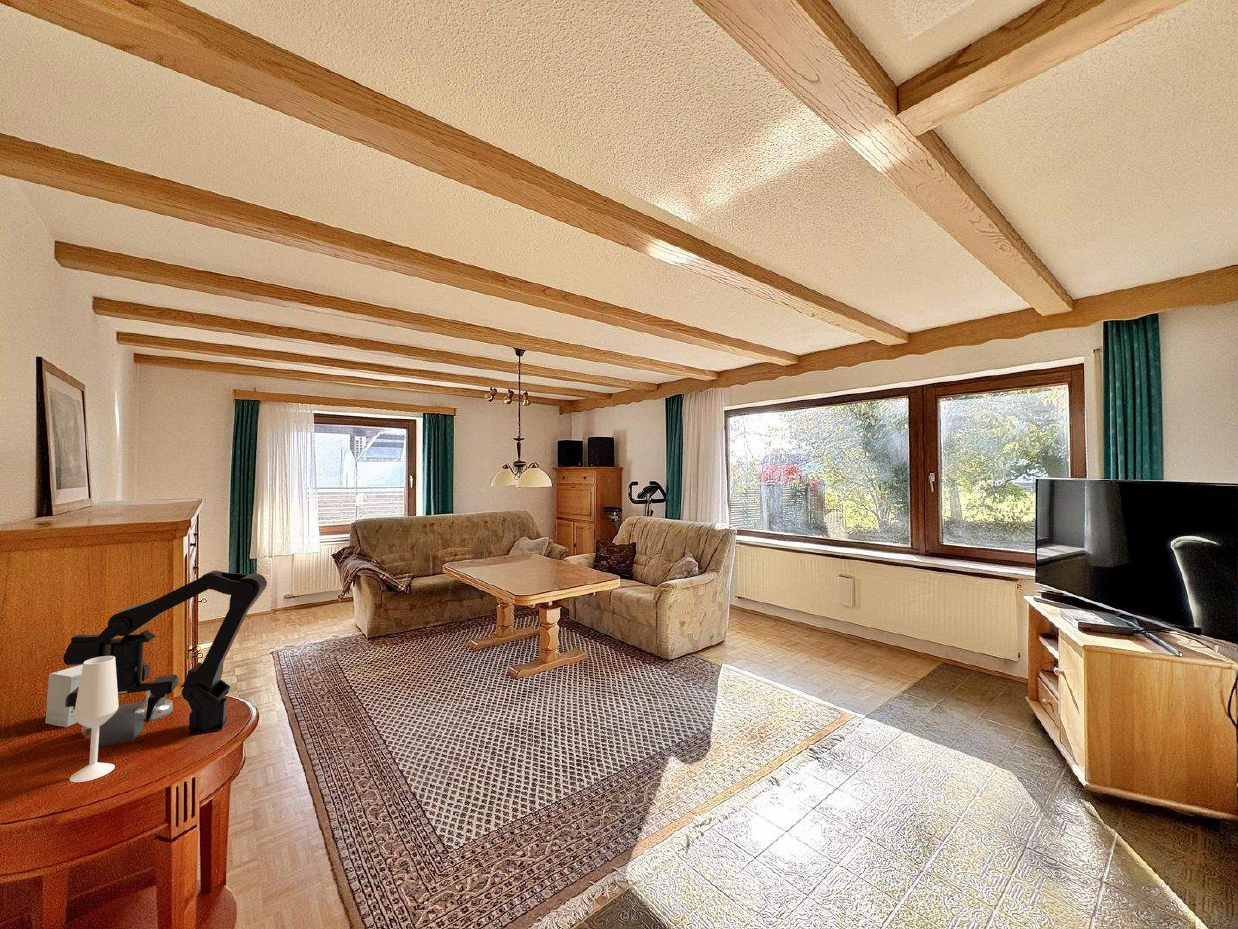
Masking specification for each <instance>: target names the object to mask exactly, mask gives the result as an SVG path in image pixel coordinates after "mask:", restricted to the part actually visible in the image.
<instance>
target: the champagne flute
mask: <svg viewBox="0 0 1238 929" xmlns="http://www.w3.org/2000/svg"><path fill="white" fill-rule="evenodd" d="M118 707H119V695H118V689H117V675H116V661H115V657H114V656H103V657H97V658H92V659H89V660H86V661H85V662H84V663H83V669H82V674H81V679H80V684H79V689H78V695H77V700H76V705H75V710H74V716H73V717H74V719H75V721H76V722H77V723H76V724H79V725H81V726H82V725H83V726H85V727H87V728H92V729H91V737H90V746H89V748H90V749H89V750H90V751H89V764H87V765H86V766H84V767H83V768H81V769H80V770H78V771H76V772H75V773H74V774H72V775H71V776H70V777H69V781H70V782H71V783H81V782H82V783H83V782H88V781H92V780H95V779H98V778H102V777H103V776H106V775H107V774H109V773H111V772H112V771H113V770H115V768H116V767H115V764H113V763H110V762H99V761H98V757H99V738H100V734H99V726H101V725H103V724H104V723H105V722H106V721H107V720H109V719H110V718H111V717H112V716H113V715H114V714H115V713H116V711H117V710H118Z"/></svg>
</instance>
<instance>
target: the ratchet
mask: <svg viewBox="0 0 1238 929" xmlns="http://www.w3.org/2000/svg"><path fill="white" fill-rule="evenodd" d="M145 692H146V693H145V704H144V721H143V723H145V722H146V713H147V705H148V698H149V697H150V696H151V693H150V691H145ZM173 703H174V702H173V700H172V699H168V698H167V699H166V696H165V697H163V698H161V699H160V700H159V702H158V704H157V706H156V708H155V710H154V713H153V715H152V717H151V719H150V721H149V722H151V721H156V719H157V720H160V719H163V718H166V717H167V715H168V716H169V715H171V714H172V713H173V709H174V708H173V707H174V704H173ZM171 712H172V713H171ZM170 713H171V714H170ZM159 718H160V719H159ZM146 723H147V722H146ZM91 729H92V728H87V727H85V726H83V725H81V731H80V732H81V733H80V734H81V735H82V736H83V738H84V739H89V738H91ZM99 735H100V726H99Z"/></svg>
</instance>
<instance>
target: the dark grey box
mask: <svg viewBox="0 0 1238 929" xmlns="http://www.w3.org/2000/svg"><path fill="white" fill-rule="evenodd" d="M145 703H146V700H143V701H136V702H135V701H134V702H127V703H120V704H119V703H118V704H119V707H118V710H117V711H116V713H115V714H114V715H113V716H112V717H111V718H110V719H109V720H107V721H106V722H105V723H104V724H103V725H101V726H100V734H99V742H98V748H101V747H105V746H111V745H119V744H122V743H123V744H124V743H130V742H134V741H135V740H136V739H137V737H138V736H139V735H140V734H141V732H142V731H143V730H144V722H143V721H144V704H145Z"/></svg>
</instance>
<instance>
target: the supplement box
mask: <svg viewBox="0 0 1238 929" xmlns="http://www.w3.org/2000/svg"><path fill="white" fill-rule="evenodd" d="M82 669H83V665H74V666H72V667H70V668H69V667H68V668H66V669H65V668H64V669H61V670H58V671H54V672H51V673H49V674H48V684H47V685H48V686H47V697H46V710H45V712H46V713H45V724H48V725H52V726H57V727H62V726H63V728H68V727H70V726H73V725H75V724H78V723H77V722H76V721H75V719H74V717H73V716H74V710H73V707H74V706H73V707H65V701H66V697H67V696H68V695H69V694H70V693H71V692H73V691H74V690H75V689H76V688H78V687H79V684H80V679H81V674H82Z"/></svg>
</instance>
